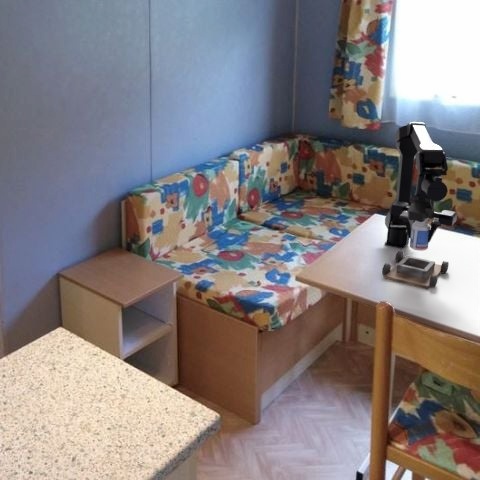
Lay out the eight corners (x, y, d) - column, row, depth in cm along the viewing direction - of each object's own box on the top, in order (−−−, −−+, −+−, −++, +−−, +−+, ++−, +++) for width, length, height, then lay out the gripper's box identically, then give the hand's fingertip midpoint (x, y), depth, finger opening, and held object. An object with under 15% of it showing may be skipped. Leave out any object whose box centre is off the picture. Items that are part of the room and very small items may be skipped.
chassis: (380, 277, 204) (381, 266, 202) (399, 258, 218) (400, 248, 217) (432, 290, 196) (433, 279, 195) (448, 269, 211) (450, 259, 209)
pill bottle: (431, 247, 204) (435, 217, 201) (422, 252, 201) (426, 221, 197) (415, 242, 208) (418, 212, 204) (405, 247, 204) (409, 217, 201)
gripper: (386, 191, 195) (380, 241, 201) (450, 203, 187) (443, 255, 192) (398, 182, 204) (392, 230, 210) (461, 193, 196) (453, 243, 201)
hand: (419, 239), depth 203 cm, fingers closed on pill bottle, 5 cm apart
